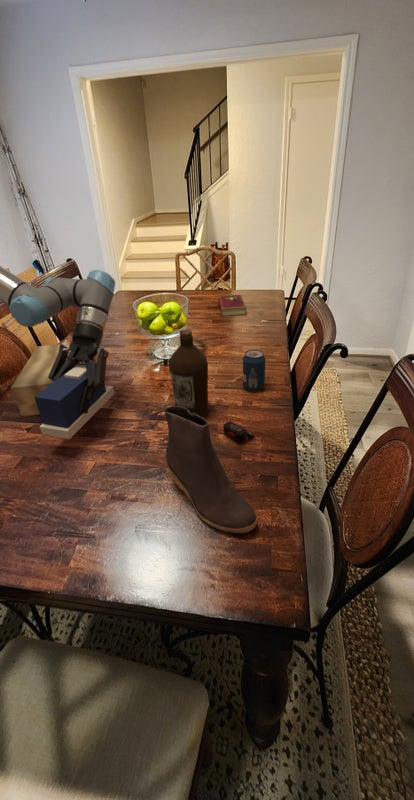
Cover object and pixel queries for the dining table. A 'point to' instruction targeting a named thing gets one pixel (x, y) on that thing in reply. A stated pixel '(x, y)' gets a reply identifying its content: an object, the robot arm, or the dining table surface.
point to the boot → (204, 473)
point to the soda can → (253, 370)
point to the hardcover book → (232, 305)
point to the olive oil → (189, 376)
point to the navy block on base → (68, 403)
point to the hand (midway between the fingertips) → (68, 410)
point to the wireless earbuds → (236, 432)
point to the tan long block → (35, 378)
